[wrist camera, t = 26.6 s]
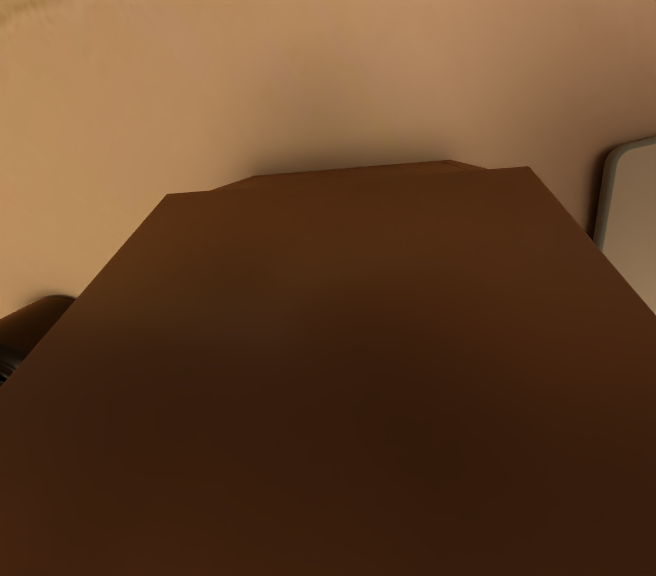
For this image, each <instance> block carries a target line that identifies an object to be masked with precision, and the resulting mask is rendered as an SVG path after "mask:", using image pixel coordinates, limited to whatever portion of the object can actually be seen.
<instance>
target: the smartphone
mask: <svg viewBox="0 0 656 576" xmlns="http://www.w3.org/2000/svg"><path fill="white" fill-rule="evenodd" d="M593 242H594V243H595V244H596V246H597V247H598V248H599V249H600V250H601V251H602V253H603V254H604V255H605V256H606V257H607V258H608V260H609V261H610V262H611V263H612V264H613V265H614V267H615V268H616V269H617V270H618V271H619V273H620V274H621V275H622V276H623V277H624V278H625V280H626V281H627V282H628V283H629V284H630V285H631V287H632V288H633V289H634V290H635V291H636V292H637V294H638V295H639V296H640V297H641V298H642V299H643V301H644V302H645V303H646V304H647V305H648V307H649V308H650V309H651V310H652V311H653V312H654V314H655V315H656V136H655V137H651V138H646V139H642V140H638V141H633V142H629V143H625V144H622V145H620V146H618V147H617V148H615V149H614V150H613V151H612V152H611V153H610V154H609V155H608V156H607V158H606V160H605V164H604V170H603V177H602V184H601V190H600V197H599V204H598V210H597V217H596V224H595V230H594V237H593Z"/></svg>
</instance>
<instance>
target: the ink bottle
mask: <svg viewBox="0 0 656 576" xmlns="http://www.w3.org/2000/svg"><path fill="white" fill-rule="evenodd" d="M73 303H74V300H70V299H66V298H60V297H48V298H43V299H40V300H38V301H36V302H34V303H32V304H30V305H28V306H26V307H24V308H22V309H20V310H18V311H16V312H14V313H12V314H9V315H7V316H5V317H3V318H1V319H0V387H1V386H2V385H3V384H4V383H5V382H6V380H7V379H8V378H9V377H10V376H11V375H12V373H13V372H14V371H15V370H16V369H17V368H18V366H19V365H20V364H21V363H22V362H23V361H24V359H25V358H26V357H27V356H28V355H29V354H30V352H31V351H32V350H33V349H34V348H35V347H36V346H37V344H38V343H39V342H40V341H41V340H42V339H43V337H44V336H45V335H46V334H47V333H48V332H49V330H50V329H51V328H52V327H53V326H54V325H55V323H56V322H57V321H58V320H59V319H60V318H61V316H62V315H63V314H64V313H65V312H66V311H67V310H68V308H69V307H70V306H71V305H72V304H73Z"/></svg>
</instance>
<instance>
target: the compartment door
mask: <svg viewBox="0 0 656 576" xmlns="http://www.w3.org/2000/svg"><path fill="white" fill-rule="evenodd" d="M0 576H656V315H655V314H654V312H653V311H652V310H651V309H650V308H649V307H648V305H647V304H646V303H645V302H644V301H643V299H642V298H641V297H640V296H639V295H638V294H637V292H636V291H635V290H634V289H633V288H632V287H631V285H630V284H629V283H628V282H627V281H626V280H625V278H624V277H623V276H622V275H621V274H620V273H619V271H618V270H617V269H616V268H615V267H614V265H613V264H612V263H611V262H610V261H609V260H608V258H607V257H606V256H605V255H604V254H603V253H602V251H601V250H600V249H599V248H598V247H597V246H596V244H595V243H594V242H593V241H592V240H591V239H590V237H589V236H588V235H587V234H586V233H585V231H584V230H583V229H582V228H581V227H580V226H579V224H578V223H577V222H576V221H575V220H574V219H573V217H572V216H571V215H570V214H569V213H568V212H567V210H566V209H565V208H564V207H563V206H562V205H561V203H560V202H559V201H558V200H557V199H556V198H555V196H554V195H553V194H552V193H551V192H550V190H549V189H548V188H547V187H546V186H545V185H544V183H543V182H542V181H541V180H540V179H539V178H538V176H537V175H536V174H535V173H534V172H533V171H532V169H531V168H530V167H528V166H526V167H513V168H500V169H487V170H474V171H461V172H448V173H435V174H422V175H409V176H396V177H383V178H370V179H357V180H344V181H330V182H317V183H304V184H291V185H278V186H265V187H252V188H239V189H226V190H213V191H200V192H187V193H174V194H167V195H166V196H165V197H164V198H163V199H162V200H161V202H160V203H159V204H158V205H157V206H156V207H155V209H154V210H153V211H152V212H151V213H150V214H149V215H148V217H147V218H146V219H145V220H144V221H143V222H142V224H141V225H140V226H139V227H138V228H137V229H136V231H135V232H134V233H133V234H132V235H131V236H130V238H129V239H128V240H127V241H126V242H125V243H124V245H123V246H122V247H121V248H120V249H119V250H118V251H117V253H116V254H115V255H114V256H113V257H112V258H111V260H110V261H109V262H108V263H107V264H106V265H105V267H104V268H103V269H102V270H101V271H100V272H99V274H98V275H97V276H96V277H95V278H94V279H93V280H92V282H91V283H90V284H89V285H88V286H87V287H86V289H85V290H84V291H83V292H82V293H81V294H80V296H79V297H78V298H77V299H76V300H75V301H74V303H73V304H72V305H71V306H70V307H69V308H68V310H67V311H66V312H65V313H64V314H63V315H62V316H61V318H60V319H59V320H58V321H57V322H56V323H55V325H54V326H53V327H52V328H51V329H50V330H49V332H48V333H47V334H46V335H45V336H44V337H43V339H42V340H41V341H40V342H39V343H38V344H37V346H36V347H35V348H34V349H33V350H32V351H31V352H30V354H29V355H28V356H27V357H26V358H25V359H24V361H23V362H22V363H21V364H20V365H19V366H18V368H17V369H16V370H15V371H14V372H13V373H12V375H11V376H10V377H9V378H8V379H7V380H6V382H5V383H4V384H3V385H2V386H1V387H0Z"/></svg>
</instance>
